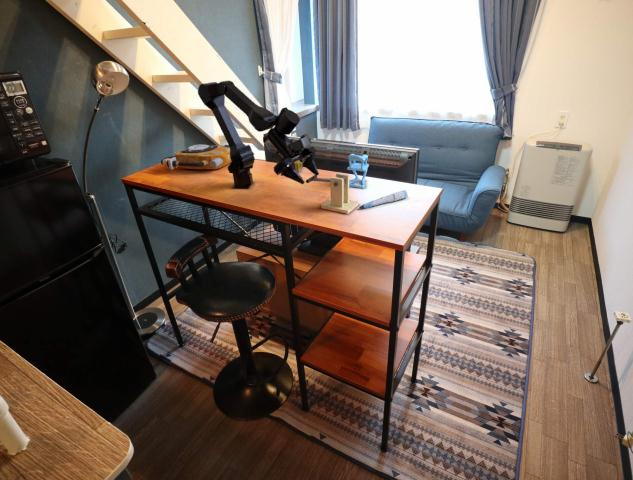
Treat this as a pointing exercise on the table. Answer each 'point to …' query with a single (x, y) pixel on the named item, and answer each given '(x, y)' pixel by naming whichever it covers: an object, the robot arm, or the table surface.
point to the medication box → (298, 166)
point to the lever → (321, 179)
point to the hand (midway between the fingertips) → (311, 179)
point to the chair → (358, 168)
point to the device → (199, 157)
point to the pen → (386, 199)
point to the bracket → (339, 195)
